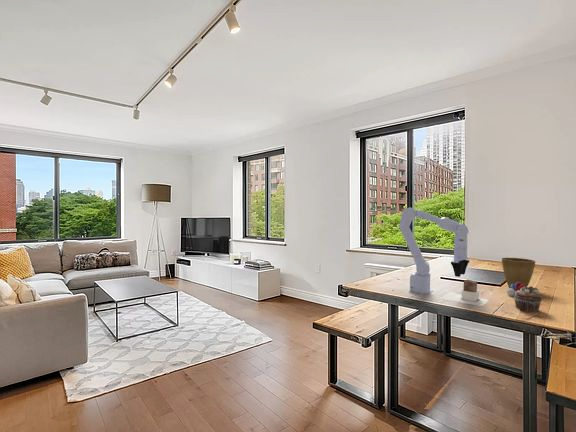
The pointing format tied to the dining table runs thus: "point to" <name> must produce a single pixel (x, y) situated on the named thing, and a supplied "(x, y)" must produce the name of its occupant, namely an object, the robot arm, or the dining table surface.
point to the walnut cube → (470, 285)
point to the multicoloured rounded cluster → (515, 288)
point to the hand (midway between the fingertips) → (459, 275)
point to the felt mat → (458, 299)
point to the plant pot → (518, 270)
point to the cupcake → (528, 299)
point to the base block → (470, 295)
